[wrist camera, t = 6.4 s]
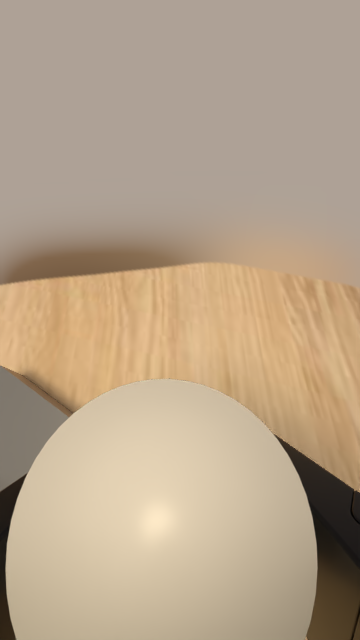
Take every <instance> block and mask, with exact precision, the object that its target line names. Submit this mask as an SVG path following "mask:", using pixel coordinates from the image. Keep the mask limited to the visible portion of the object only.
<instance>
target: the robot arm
mask: <svg viewBox="0 0 360 640" xmlns="http://www.w3.org/2000/svg"><path fill="white" fill-rule="evenodd" d="M273 435H274V436H275V437H276V438H277V439H278V441H279V442H280V444H281V445H282V447H283V448H284V450H285V451H286V453H287V454H288V456H289V458H290V460H291V462H292V463H293V465H294V467H295V469H296V471H297V473H298V475H299V478H300V480H301V483H302V485H303V488H304V490H305V493H306V496H307V499H308V503H309V507H310V510H311V514H312V518H313V524H314V530H315V537H316V544H317V567H318V569H317V583H316V595H315V601H314V606H313V612H312V617H311V621H310V625H309V628H308V631H307V634H306V636H307V639H308V640H360V493H359V492H358V491H354V489H353V488H351V487H350V486H348V485H347V484H345V483H344V482H342V481H341V480H340V479H338V478H337V477H335V476H334V475H332V474H331V473H329V472H328V471H327V470H325V469H324V468H322V467H321V466H319V465H318V464H316V463H315V462H314V461H312V460H311V459H309V458H308V457H306V456H305V455H303V454H302V453H301V452H299V451H298V450H296V449H295V448H293V447H292V446H290V445H289V444H288V443H286V442H285V441H283V440H282V439H280V438H279V437H277V436H276V435H275V434H273ZM27 474H28V473H27ZM27 474H25V475H24V476H22V477H21V478H19V479H18V480H16V481H15V482H13V483H12V484H10V485H9V486H7V487H6V488H4V489H3V490H2V491H0V640H16V637H15V633H14V629H13V626H12V622H11V618H10V612H9V606H8V599H7V592H6V569H5V568H6V553H7V541H8V536H9V530H10V524H11V519H12V516H13V512H14V508H15V505H16V501H17V498H18V495H19V493H20V490H21V488H22V485H23V483H24V480H25V478H26V476H27Z"/></svg>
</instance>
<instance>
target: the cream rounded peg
mask: <svg viewBox="0 0 360 640" xmlns="http://www.w3.org/2000/svg"><path fill="white" fill-rule="evenodd" d="M5 569H6V592H7V599H8V606H9V612H10V618H11V622H12V626H13V629H14V633H15V637H16V640H305V637H306V634H307V631H308V628H309V625H310V621H311V617H312V612H313V606H314V601H315V595H316V583H317V569H318V567H317V544H316V537H315V530H314V524H313V518H312V514H311V510H310V507H309V503H308V499H307V496H306V493H305V490H304V488H303V485H302V483H301V480H300V478H299V475H298V473H297V471H296V469H295V467H294V465H293V463H292V462H291V460H290V458H289V456H288V454H287V453H286V451H285V450H284V448H283V447H282V445H281V444H280V442H279V441H278V439H277V438H276V437H275V436H274V435H273V433H272V432H271V431H270V430H269V429H268V428H267V426H266V425H265V424H264V423H263V422H262V421H261V420H260V419H259V418H258V417H256V416H255V415H254V414H253V413H252V412H251V411H250V410H249V409H247V408H246V407H244V406H243V405H242V404H240V403H239V402H237V401H236V400H235V399H233V398H231V397H229V396H227V395H225V394H224V393H222V392H220V391H218V390H215V389H212V388H210V387H207V386H205V385H202V384H198V383H193V382H189V381H184V380H175V379H151V380H145V381H138V382H134V383H130V384H127V385H123V386H120V387H117V388H115V389H113V390H110V391H108V392H106V393H103V394H102V395H100V396H98V397H97V398H95V399H93V400H91V401H90V402H88V403H87V404H85V405H84V406H83V407H81V408H80V409H79V410H77V411H76V412H75V413H73V414H72V415H71V416H70V417H69V418H68V419H67V420H66V421H65V422H64V423H63V424H62V425H61V426H60V427H59V428H58V429H57V430H56V432H55V433H54V434H53V435H52V436H51V437H50V439H49V440H48V441H47V442H46V444H45V445H44V447H43V448H42V450H41V451H40V453H39V454H38V456H37V457H36V459H35V461H34V463H33V464H32V466H31V468H30V470H29V472H28V474H27V476H26V478H25V480H24V483H23V485H22V488H21V490H20V493H19V495H18V498H17V501H16V505H15V508H14V512H13V516H12V519H11V524H10V530H9V536H8V541H7V553H6V568H5Z"/></svg>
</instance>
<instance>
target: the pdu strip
mask: <svg viewBox="0 0 360 640" xmlns="http://www.w3.org/2000/svg"><path fill="white" fill-rule="evenodd" d="M72 414H73V413H72V412H71V411H69V410H68V409H67V408H65V407H64V406H63V405H61V404H60V403H59V402H57V401H56V400H55V399H53V398H52V397H51V396H49V395H48V394H47V393H45V392H44V391H43V390H41V389H40V388H39V387H37V386H36V385H35V384H33V383H32V382H31V381H29V380H28V379H27V378H25V377H24V376H23V375H21V374H18V373H16V372H14V371H12V370H9V369H7V368H5V367H3V366H0V491H2V490H3V489H4V488H6V487H7V486H9V485H10V484H12V483H13V482H15V481H16V480H18V479H19V478H21V477H22V476H24V475H25V474H27V473H28V472H29V470H30V468H31V466H32V464H33V463H34V461H35V459H36V457H37V456H38V454H39V453H40V451H41V450H42V448H43V447H44V445H45V444H46V442H47V441H48V440H49V439H50V437H51V436H52V435H53V434H54V433H55V432H56V430H57V429H58V428H59V427H60V426H61V425H62V424H63V423H64V422H65V421H66V420H67V419H68V418H69V417H70V416H71V415H72Z"/></svg>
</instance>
